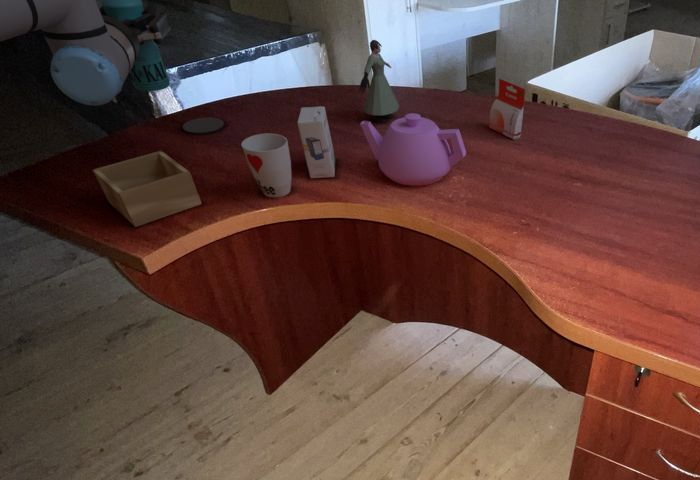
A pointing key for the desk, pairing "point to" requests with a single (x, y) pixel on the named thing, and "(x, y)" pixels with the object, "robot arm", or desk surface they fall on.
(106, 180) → the crate
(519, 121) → the ink box
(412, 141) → the teapot
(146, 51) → the beverage bottle
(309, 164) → the ink box
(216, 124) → the coaster
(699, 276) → the desk surface
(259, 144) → the cup
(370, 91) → the character figurine
